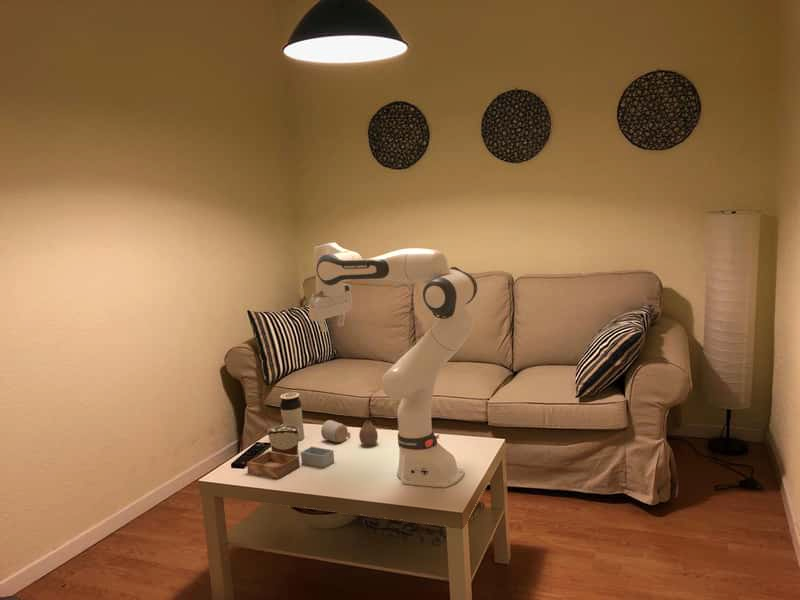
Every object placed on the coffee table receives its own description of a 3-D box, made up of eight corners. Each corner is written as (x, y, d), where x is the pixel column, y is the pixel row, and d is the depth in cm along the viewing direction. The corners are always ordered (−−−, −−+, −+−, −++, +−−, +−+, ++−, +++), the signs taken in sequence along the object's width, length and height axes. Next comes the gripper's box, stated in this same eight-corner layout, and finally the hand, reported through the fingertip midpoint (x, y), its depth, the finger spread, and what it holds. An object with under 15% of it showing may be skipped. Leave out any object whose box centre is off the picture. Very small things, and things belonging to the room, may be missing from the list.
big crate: (300, 467, 243) (299, 456, 242) (278, 479, 234) (277, 468, 233) (270, 461, 251) (269, 450, 250) (247, 473, 241) (246, 462, 241)
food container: (305, 448, 261) (302, 423, 259) (301, 454, 255) (298, 429, 253) (273, 449, 262) (271, 424, 260) (269, 456, 256) (266, 430, 254)
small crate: (334, 462, 245) (333, 450, 245) (324, 468, 240) (322, 456, 240) (312, 458, 251) (311, 446, 250) (301, 464, 246) (300, 452, 245)
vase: (362, 441, 264) (360, 419, 262) (379, 441, 263) (378, 419, 261) (358, 448, 257) (356, 425, 256) (376, 447, 256) (374, 425, 255)
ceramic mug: (336, 445, 261) (335, 426, 260) (321, 442, 267) (320, 422, 266) (355, 437, 269) (354, 418, 268) (340, 433, 275) (339, 415, 274)
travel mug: (306, 435, 276) (302, 391, 273) (301, 442, 268) (297, 397, 265) (286, 435, 276) (282, 392, 274) (281, 443, 269) (277, 398, 266)
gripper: (317, 294, 227) (321, 335, 229) (353, 285, 244) (356, 323, 246) (302, 294, 230) (306, 334, 232) (339, 285, 247) (342, 322, 249)
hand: (332, 328), depth 239 cm, fingers open, 8 cm apart
